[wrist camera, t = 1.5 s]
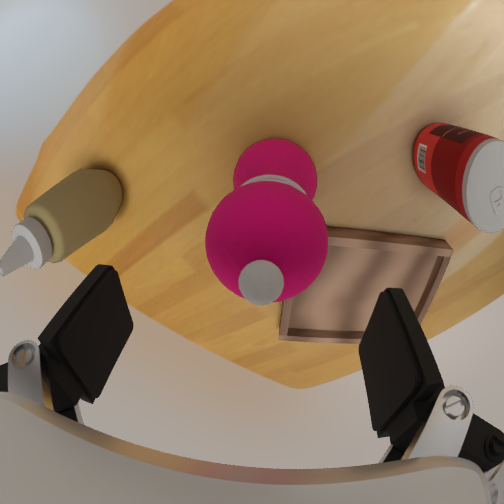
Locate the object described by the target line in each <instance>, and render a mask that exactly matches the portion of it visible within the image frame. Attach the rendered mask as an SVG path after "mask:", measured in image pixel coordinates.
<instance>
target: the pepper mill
mask: <svg viewBox="0 0 504 504" xmlns="http://www.w3.org/2000/svg"><path fill="white" fill-rule="evenodd" d="M233 183H234V189H235V190H234V191H232V192H231V193H229V194H228V195H227V196H225V197H224V198H223V199H222V201H221V202H220V203H219V204H218V206H217V207H216V209H215V210H214V212H213V213H212V216H211V218H210V220H209V223H208V227H207V231H206V237H205V247H206V253H207V258H208V261H209V264H210V266H211V268H212V270H213V272H214V274H215V275H216V276H217V278H218V279H219V280H220V282H221V283H222V284H223V285H224V286H225V287H226V288H228V289H229V290H231V291H232V292H234V293H235V294H237V295H238V296H240V297H242V298H245V299H246V300H248V301H249V302H250V303H253V304H256V305H266V304H270V303H272V302H280V301H283V300H286V299H290V298H292V297H294V296H296V295H298V294H300V293H301V292H303V291H304V290H306V289H307V288H308V287H309V286H310V285H311V284H312V283H313V282H314V280H315V279H316V278H317V277H318V276H319V274H320V272H321V270H322V268H323V266H324V264H325V261H326V257H327V253H328V233H327V227H326V224H325V221H324V218H323V216H322V214H321V212H320V210H319V208H318V207H317V206H316V205H315V204H314V203H313V201H312V199H313V198H314V195H315V192H316V188H317V175H316V169H315V166H314V163H313V161H312V159H311V158H310V156H309V155H308V154H307V152H305V151H304V150H303V149H302V148H301V147H300V146H298V145H297V144H295V143H293V142H290V141H287V140H284V139H267V140H262V141H260V142H257V143H255V144H253V145H252V146H250V147H249V148H248V149H247V150H246V151H245V152H244V153H243V154H242V155H241V157H240V159H239V160H238V163H237V165H236V168H235V171H234V177H233Z"/></svg>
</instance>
